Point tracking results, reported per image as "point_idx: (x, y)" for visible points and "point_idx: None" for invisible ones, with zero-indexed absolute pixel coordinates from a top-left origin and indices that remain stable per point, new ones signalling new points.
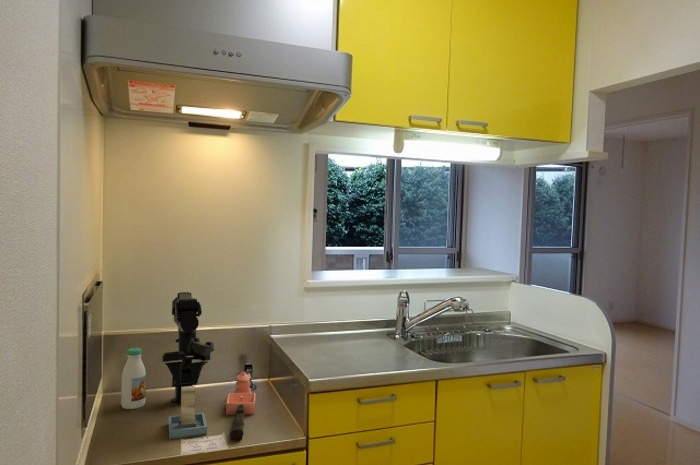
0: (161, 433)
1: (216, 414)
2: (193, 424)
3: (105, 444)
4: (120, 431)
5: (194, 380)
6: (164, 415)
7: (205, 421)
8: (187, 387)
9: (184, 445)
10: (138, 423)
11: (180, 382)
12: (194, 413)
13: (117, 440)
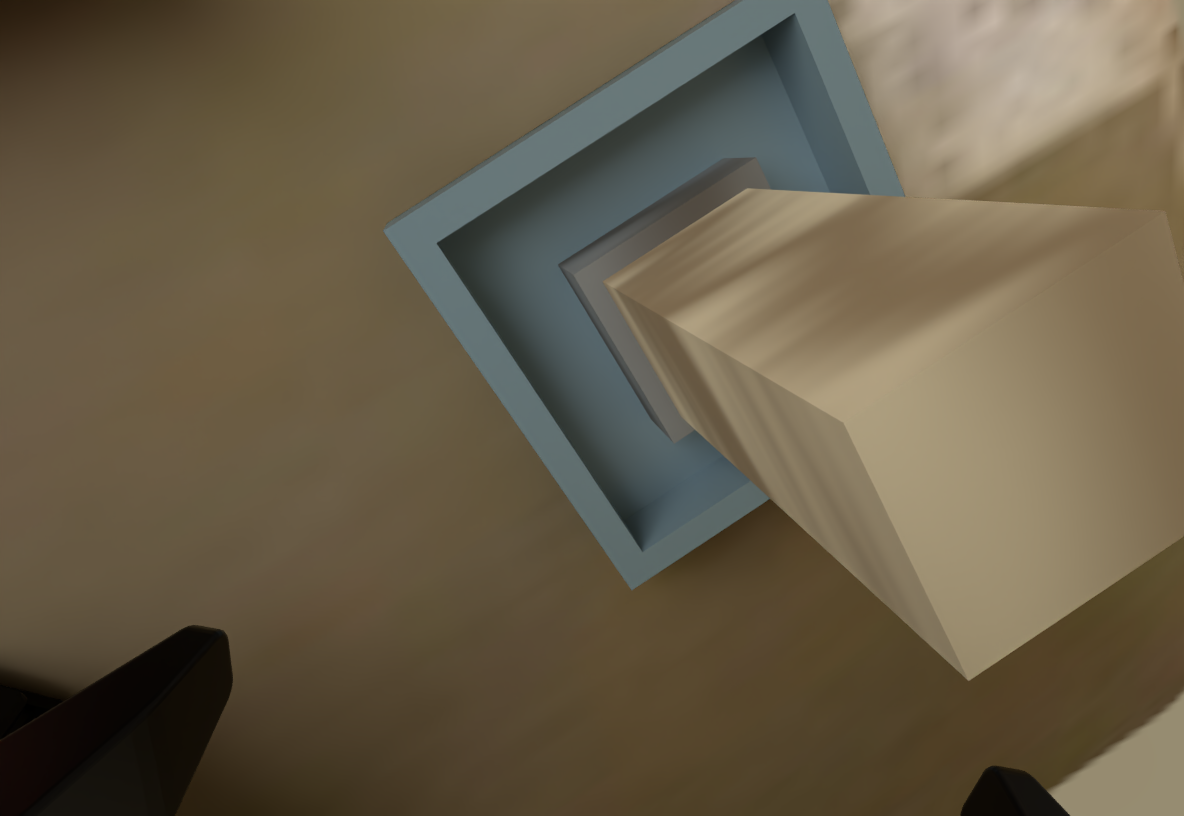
0: None
1: (150, 122)
2: (769, 188)
3: (1021, 748)
4: (823, 804)
5: (189, 741)
6: (427, 703)
7: (662, 61)
8: (982, 531)
9: (1009, 130)
10: (660, 788)
11: (1029, 801)
12: (817, 195)
13: (961, 721)
